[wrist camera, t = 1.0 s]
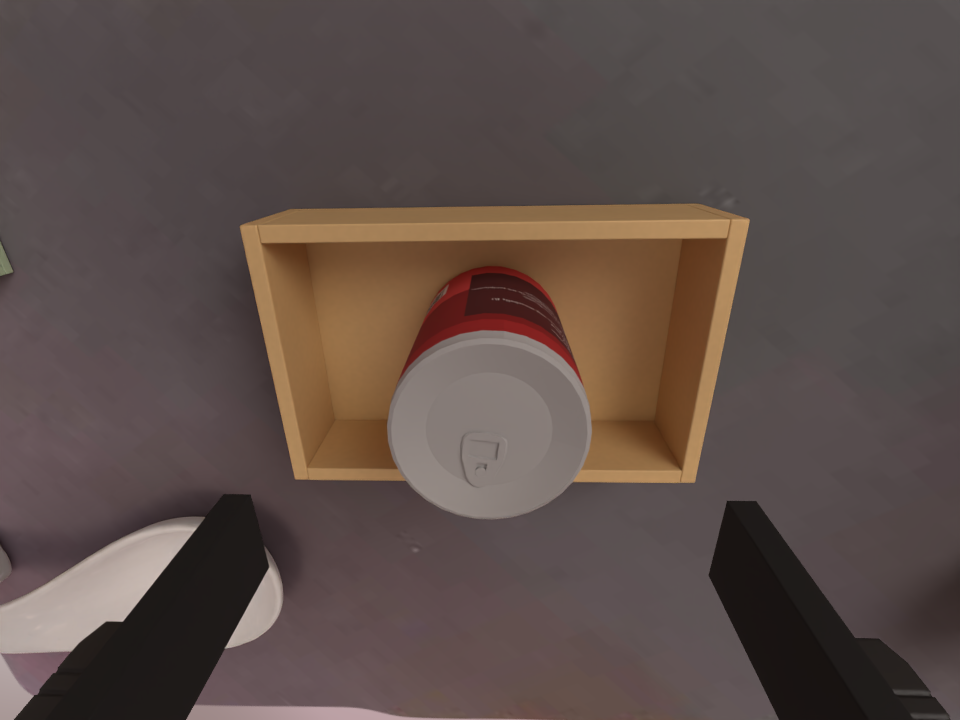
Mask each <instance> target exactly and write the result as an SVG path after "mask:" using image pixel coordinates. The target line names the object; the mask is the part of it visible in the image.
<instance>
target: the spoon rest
mask: <svg viewBox="0 0 960 720" xmlns="http://www.w3.org/2000/svg"><path fill="white" fill-rule="evenodd" d="M204 519H205V517H195V516H192V517H180V518H173V519H168V520H164V521H161V522H157V523H154V524H151V525H149V526H146V527H144V528H142V529H140V530H137V531H135V532H133V533H131V534H129V535H127V536H124V537H122V538H120V539H118V540H116V541H115V542H113V543H111V544H109V545H107V546H105V547H104V548H102V549H100V550H99V551H97V552H95V553H94V554H92V555H91V556H89V557H87V558H86V559H84V560H83V561H81V562H80V563H78V564H77V565H75V566H74V567H72V568H70V569H69V570H67V571H66V572H64V573H62V574H61V575H59V576H58V577H56V578H54V579H53V580H51V581H49V582H48V583H46V584H44V585H43V586H41V587H39V588H37V589H35V590H34V591H32V592H30V593H28V594H26V595H24V596H22V597H19V598H17V599H15V600H13V601H10V602H8V603H5V604H2V605H0V653H7V654H12V653H42V652H69V651H73V649H74V648H75V647H76V646H77V645H78V643H79V642H81V641H82V640H83V639H85V638H86V637H87V636H88V635H90V634H91V633H92V632H93V631H95V630H96V629H97V628H98V627H100V626H101V625H102V624H104V623H105V622H106V621H116V622H123V621H124V620H125V618H126V617H127V616H128V614H129V613H130V612H131V611H132V609H133V608H134V607H135V606H136V604H137V603H138V602H139V601H140V599H141V598H142V597H143V596H144V594H145V593H146V592H147V591H148V589H149V588H150V587H151V585H152V584H153V583H154V582H155V580H156V579H157V578H158V577H159V575H160V574H161V573H162V572H163V570H164V569H165V568H166V567H167V565H168V564H169V563H170V562H171V560H172V559H173V558H174V556H175V555H176V554H177V553H178V551H179V550H180V549H181V548H182V546H183V545H184V544H185V543H186V541H187V540H188V539H189V538H190V536H191V535H192V534H193V532H194V531H195V530H196V529H197V527H198V526H199V525H200V524H201V522H202V521H203V520H204ZM264 548H265V552H266V555H267V559H268V563H269V569H268V571H267V572H266V574H265V576H264V578H263V580H262V582H261V583H260V585H259V587H258V589H257V591H256V593H255V594H254V596H253V598H252V600H251V602H250V604H249V605H248V607H247V609H246V611H245V613H244V615H243V616H242V618H241V620H240V622H239V624H238V626H237V627H236V629H235V631H234V633H233V635H232V636H231V638H230V640H229V642H228V644H227V646H226V647H225V649H226V648H231V647H235V646H239V645H242V644H244V643H247V642H250V641H252V640H254V639H256V638H258V637H259V636H261V635H262V634H263V633H265V632H266V631H267V630H268V629H269V628H270V627H271V626H272V625H273V624H274V622H275V621H276V620H277V618H278V616H279V614H280V611H281V608H282V604H283V585H282V580H281V576H280V573H279V570H278V568H277V565H276V563H275V561H274V559H273V557H272V556H271V554H270V553H269V551H268V550H267V549H266V547H265V546H264ZM11 572H12V566H11V562H10V560H9V558H8V556H7V554H6V552H5V551H4V550H3V549H2V547H1V545H0V583H1V582H2V581H4V580H5V579H6V578H7V577H8V576H9V575H10V574H11Z"/></svg>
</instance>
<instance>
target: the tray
mask: <svg viewBox="0 0 960 720" xmlns="http://www.w3.org/2000/svg"><path fill="white" fill-rule="evenodd" d="M10 273H13V270H12V267H11V265H10V263H9V260H8V258H7V256H6V253H5V251H4V249H3V246H2V244H1V242H0V276H2V275H5V274H10Z"/></svg>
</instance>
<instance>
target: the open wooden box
mask: <svg viewBox="0 0 960 720" xmlns="http://www.w3.org/2000/svg"><path fill="white" fill-rule="evenodd" d="M749 222H750V220H749V219H747V218H744V217H741V216H737V215H734V214H731V213H728V212H724V211H721V210H718V209H714V208H711V207H708V206H705V205H702V204H635V205H561V206H487V207H413V208H338V209H289V210H286V211H283V212H280V213H277V214H274V215H271V216H268V217H265V218H261V219H258V220H255V221H252V222H249V223H246V224H243V225H240V231H241V235H242V240H243V244H244V249H245V253H246V258H247V262H248V267H249V272H250V276H251V281H252V285H253V290H254V294H255V299H256V303H257V308H258V313H259V317H260V322H261V326H262V331H263V335H264V340H265V344H266V349H267V354H268V358H269V363H270V367H271V372H272V376H273V381H274V385H275V390H276V395H277V399H278V404H279V408H280V413H281V417H282V422H283V426H284V431H285V436H286V440H287V445H288V449H289V454H290V458H291V463H292V467H293V472H294V477H295V479H305V480H307V479H309V480H390V481H406V480H405V479H404V478H403V476H402V475H401V473H400V472H399V470H398V468H397V466H396V464H395V462H394V460H393V458H392V454H391V450H390V447H389V443H388V431H387V422H388V416H389V410H390V404H391V399H392V396H393V394H394V391H395V389H396V385H397V383H398V380H399V378H400V375H401V373H402V370H403V368H404V365H405V363H406V361H407V358H408V356H409V354H410V351H411V349H412V347H413V344H414V342H415V340H416V337H417V335H418V333H419V330H420V328H421V326H422V323H423V321H424V319H425V316H426V314H427V312H428V309H429V307H430V305H431V302H432V301H433V299H434V298H435V296H436V295H437V293H438V292H439V291H440V290H441V289H442V288H443V287H444V286H445V285H446V284H447V283H448V282H449V281H450V280H452V279H453V278H455V277H456V276H458V275H459V274H461V273H464V272H466V271H469V270H471V269H474V268H480V267H485V266H502V267H506V268H510V269H515V270H517V271H519V272H521V273H524V274H526V275H528V276H529V277H531V278H532V279H533V280H535V281H536V282H537V283H539V284H540V285H541V286H542V288H543V289H544V290H545V291H546V292H547V293H548V294H549V296H550V298H551V300H552V302H553V303H554V305H555V307H556V310H557V313H558V316H559V318H560V321H561V324H562V327H563V329H564V332H565V335H566V337H567V340H568V343H569V346H570V348H571V351H572V354H573V357H574V359H575V362H576V365H577V367H578V370H579V373H580V376H581V379H582V382H583V386H584V389H585V392H586V395H587V399H588V402H589V405H590V413H591V426H592V435H591V442H590V448H589V452H588V454H587V457H586V459H585V462H584V465H583V467H582V468H581V470H580V471H579V473H578V475H577V476H576V478H575V479H574V481H573V482H640V483H679V482H681V483H694V482H695V478H696V473H697V469H698V464H699V459H700V454H701V450H702V445H703V440H704V435H705V431H706V426H707V421H708V416H709V412H710V407H711V402H712V397H713V393H714V388H715V383H716V378H717V374H718V369H719V364H720V359H721V355H722V350H723V345H724V340H725V336H726V331H727V326H728V321H729V317H730V312H731V307H732V302H733V298H734V293H735V288H736V283H737V279H738V274H739V269H740V264H741V260H742V255H743V250H744V245H745V241H746V236H747V231H748V226H749Z"/></svg>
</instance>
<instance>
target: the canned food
mask: <svg viewBox="0 0 960 720" xmlns="http://www.w3.org/2000/svg"><path fill="white" fill-rule="evenodd" d="M387 431H388V443H389V447H390V450H391V454H392V458H393V460H394V462H395V464H396V466H397V468H398V470H399V472H400V473H401V475H402V476H403V478H404V479H405V480H406V481H407V482H408V484H409V485H410V486H411V487H412V488H413V489H414V490H415V491H416V492H417V493H418V494H420V495H421V496H422V497H423V498H424V499H425V500H427V501H429V502H431V503H432V504H434V505H436V506H437V507H439V508H441V509H443V510H446V511H449V512H451V513H454V514H456V515H460V516H465V517H470V518H475V519H502V518H510V517H515V516H518V515H522V514H525V513H529V512H531V511H533V510H536V509H538V508H540V507H542V506H544V505H546V504H547V503H549V502H550V501H552V500H553V499H554V498H556V497H557V496H559V495H560V494H561V493H562V492H563V491H564V490H565V489H566V488H567V487H568V486H569V485H570V484H571V483H572V482H573V481H574V479H575V478H576V476H577V475H578V473H579V471H580V470H581V468H582V467H583V465H584V462H585V459H586V457H587V454H588V452H589V448H590V442H591V435H592V426H591V413H590V405H589V402H588V399H587V395H586V392H585V389H584V386H583V382H582V379H581V376H580V373H579V370H578V367H577V365H576V362H575V359H574V357H573V354H572V351H571V348H570V346H569V343H568V340H567V337H566V335H565V332H564V329H563V327H562V324H561V321H560V318H559V316H558V313H557V310H556V307H555V305H554V303H553V302H552V300H551V298H550V296H549V294H548V293H547V292H546V291H545V290H544V289H543V288H542V286H541V285H540V284H539V283H537V282H536V281H535V280H533V279H532V278H531V277H529V276H528V275H526V274H524V273H521V272H519V271H517V270H515V269H510V268H506V267H502V266H485V267H480V268H474V269H471V270H469V271H466V272H464V273H461V274H459V275H458V276H456V277H455V278H453V279H452V280H450V281H449V282H448V283H447V284H446V285H445V286H444V287H443V288H442V289H441V290H440V291H439V292H438V293H437V295H436V296H435V298H434V299H433V301H432V302H431V305H430V307H429V309H428V312H427V314H426V316H425V319H424V321H423V323H422V326H421V328H420V330H419V333H418V335H417V337H416V340H415V342H414V344H413V347H412V349H411V351H410V354H409V356H408V358H407V361H406V363H405V365H404V368H403V370H402V373H401V375H400V378H399V380H398V383H397V385H396V389H395V391H394V394H393V396H392V399H391V404H390V410H389V416H388V422H387Z"/></svg>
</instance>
